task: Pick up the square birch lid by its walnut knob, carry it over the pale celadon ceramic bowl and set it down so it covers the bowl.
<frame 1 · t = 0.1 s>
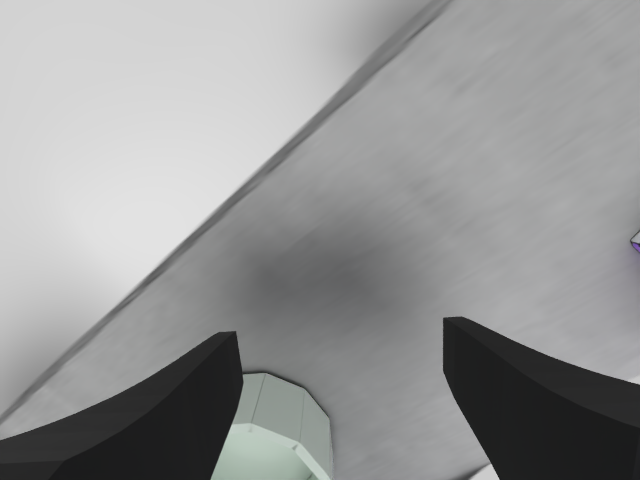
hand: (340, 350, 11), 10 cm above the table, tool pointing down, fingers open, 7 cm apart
celadon bowl: (257, 435, 24), on the table
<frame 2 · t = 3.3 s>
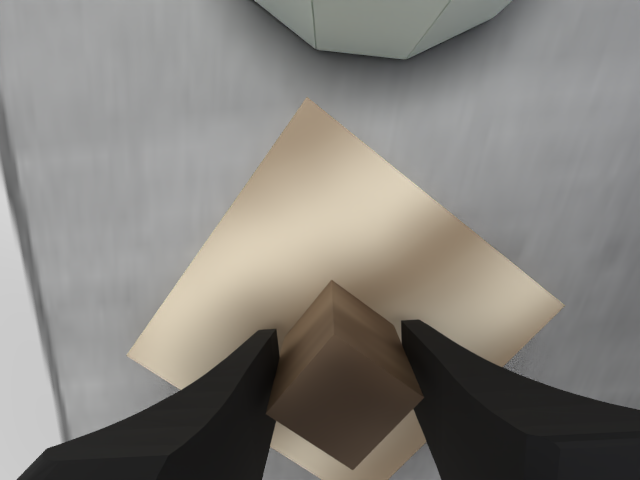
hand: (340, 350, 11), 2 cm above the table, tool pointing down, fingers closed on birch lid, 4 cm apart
birch lid: (337, 321, 13), on the table, touching gripper
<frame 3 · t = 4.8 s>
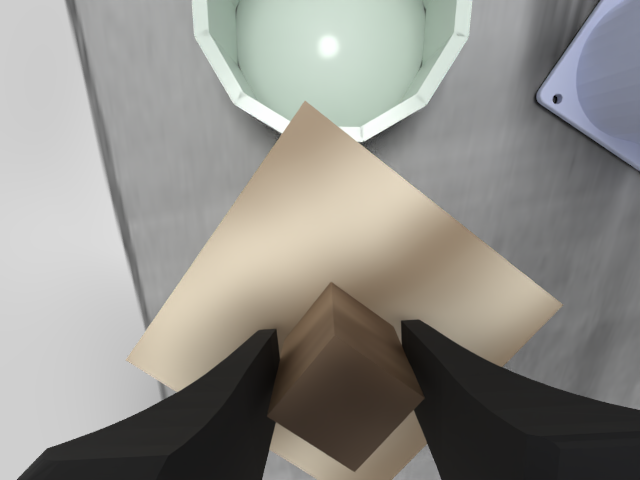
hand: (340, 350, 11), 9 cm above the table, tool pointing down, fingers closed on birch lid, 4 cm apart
celadon bowl: (329, 41, 18), on the table
birch lid: (337, 323, 13), point 7 cm above the table, touching gripper
when the fingers open (8 cm above the table, at t = 6.7 s): birch lid stays where it is, resting on celadon bowl.
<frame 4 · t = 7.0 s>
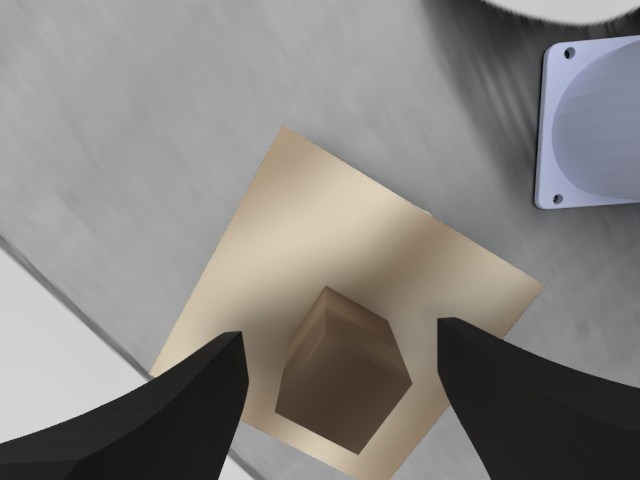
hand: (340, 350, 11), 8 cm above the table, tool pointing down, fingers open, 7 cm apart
birch lid: (337, 322, 15), point 5 cm above the table, touching celadon bowl
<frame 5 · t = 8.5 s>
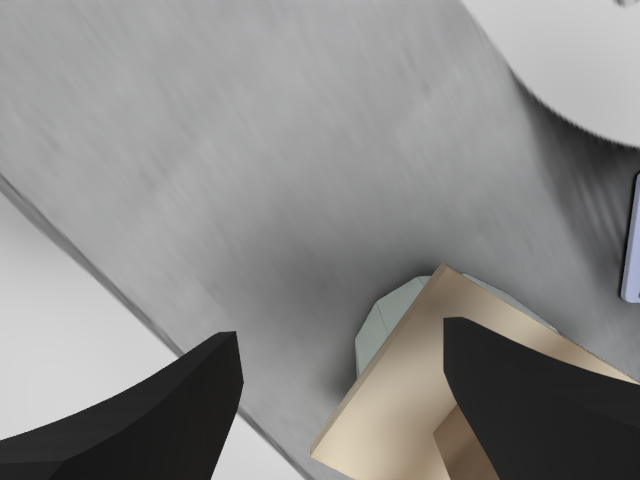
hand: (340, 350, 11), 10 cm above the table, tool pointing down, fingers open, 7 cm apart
celadon bowl: (438, 350, 22), on the table, touching birch lid
birch lid: (468, 413, 17), point 5 cm above the table, touching celadon bowl
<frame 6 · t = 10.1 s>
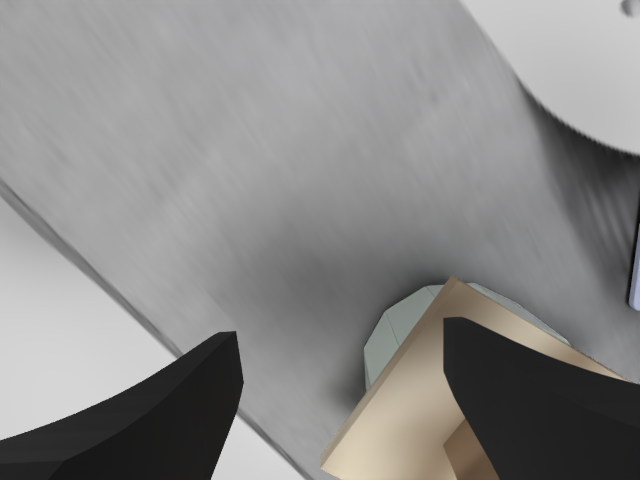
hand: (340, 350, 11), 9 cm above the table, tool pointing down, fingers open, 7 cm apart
celadon bowl: (446, 359, 22), on the table, touching birch lid
birch lid: (478, 424, 17), point 5 cm above the table, touching celadon bowl
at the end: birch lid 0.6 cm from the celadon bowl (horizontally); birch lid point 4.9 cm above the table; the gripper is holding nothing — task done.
